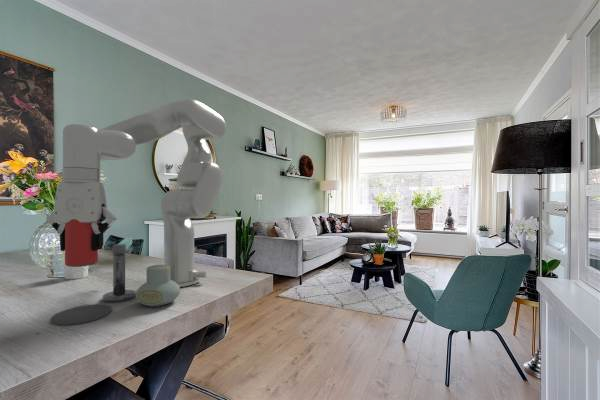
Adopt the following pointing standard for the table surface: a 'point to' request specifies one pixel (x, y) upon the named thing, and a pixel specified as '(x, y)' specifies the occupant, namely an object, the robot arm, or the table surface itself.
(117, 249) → the bar
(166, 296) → the air freshener
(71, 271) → the white cup
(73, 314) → the rubber mat
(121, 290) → the clip post
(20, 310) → the table surface
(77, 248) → the beer can
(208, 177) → the robot arm
